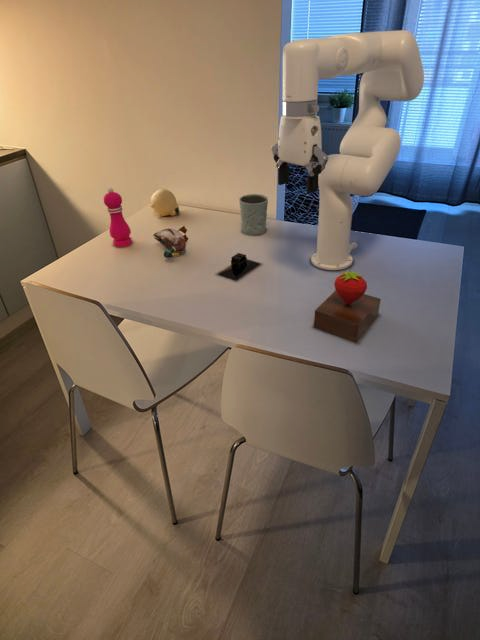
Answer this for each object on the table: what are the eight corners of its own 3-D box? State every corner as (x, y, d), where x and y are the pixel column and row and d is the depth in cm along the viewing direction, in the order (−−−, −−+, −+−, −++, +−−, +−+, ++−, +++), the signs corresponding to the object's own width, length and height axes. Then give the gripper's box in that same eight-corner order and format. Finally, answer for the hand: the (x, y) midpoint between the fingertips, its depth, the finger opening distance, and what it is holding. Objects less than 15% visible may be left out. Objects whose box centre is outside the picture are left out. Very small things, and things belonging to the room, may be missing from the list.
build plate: (236, 281, 121) (235, 267, 118) (217, 274, 125) (215, 261, 122) (260, 264, 129) (259, 250, 126) (241, 258, 133) (241, 245, 130)
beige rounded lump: (169, 227, 168) (186, 207, 165) (145, 208, 161) (163, 188, 159) (166, 218, 176) (183, 199, 173) (144, 200, 169) (160, 180, 166)
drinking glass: (242, 225, 156) (241, 194, 149) (269, 225, 155) (269, 193, 148) (239, 236, 148) (237, 203, 141) (267, 236, 146) (266, 203, 140)
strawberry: (360, 314, 95) (365, 276, 89) (329, 307, 98) (332, 270, 92) (367, 301, 99) (372, 264, 93) (336, 295, 102) (340, 259, 96)
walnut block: (337, 303, 108) (338, 286, 105) (377, 315, 103) (380, 298, 100) (313, 327, 100) (314, 310, 97) (356, 342, 94) (358, 324, 91)
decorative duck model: (174, 248, 127) (133, 241, 132) (177, 268, 132) (138, 261, 137) (195, 225, 137) (156, 220, 142) (198, 245, 142) (160, 239, 147)
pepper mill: (137, 241, 149) (125, 186, 137) (122, 249, 144) (109, 192, 132) (123, 238, 152) (110, 183, 141) (108, 245, 147) (94, 189, 136)
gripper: (341, 110, 86) (335, 191, 96) (284, 104, 97) (283, 177, 107) (317, 115, 82) (312, 199, 92) (260, 108, 94) (262, 184, 103)
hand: (297, 187), depth 99 cm, fingers open, 9 cm apart
